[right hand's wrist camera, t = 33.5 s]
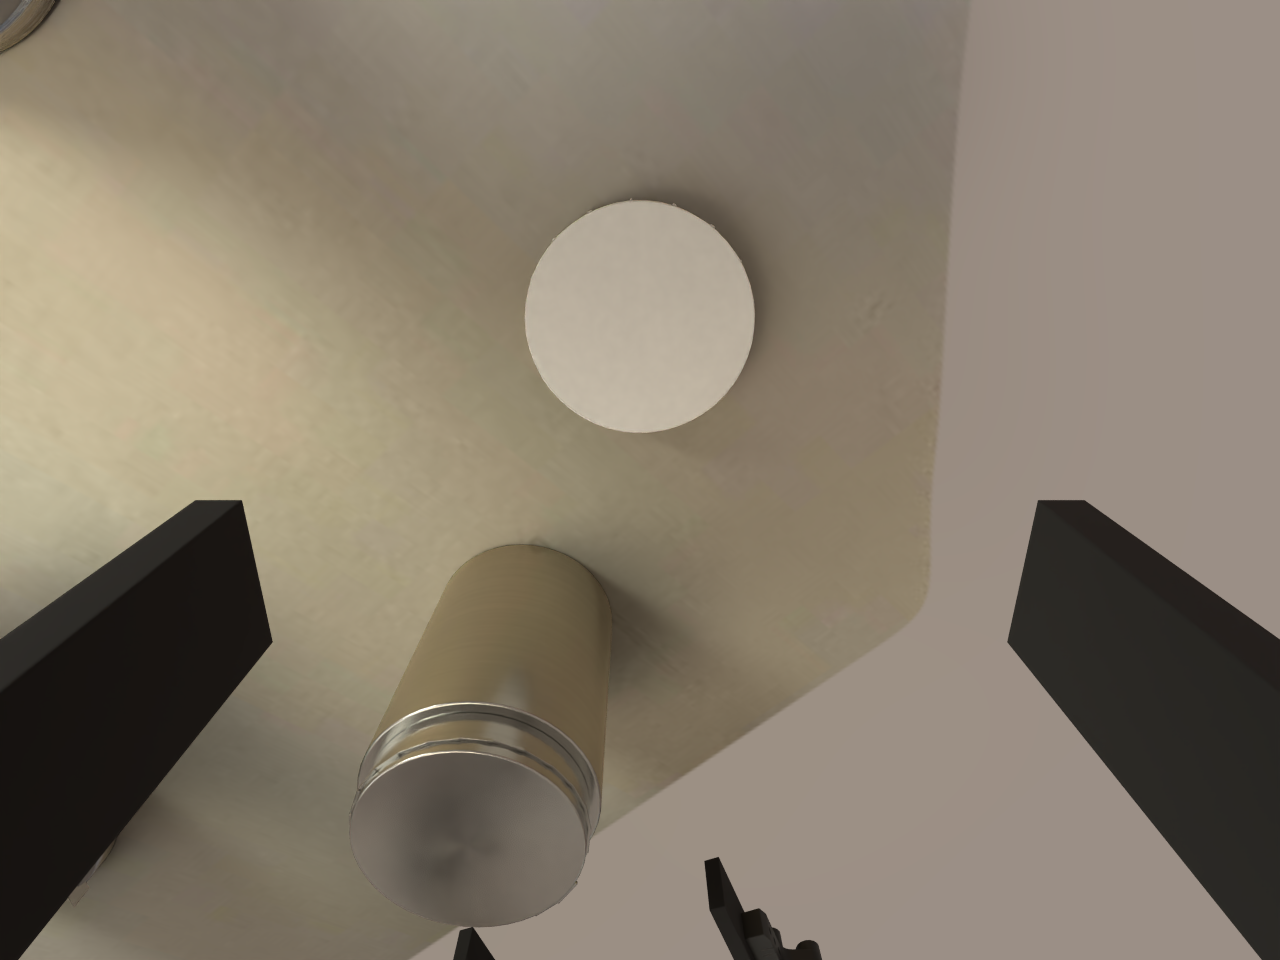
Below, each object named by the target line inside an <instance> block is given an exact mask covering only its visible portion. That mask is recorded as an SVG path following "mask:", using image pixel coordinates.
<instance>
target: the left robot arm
mask: <svg viewBox="0 0 1280 960" xmlns="http://www.w3.org/2000/svg"><path fill="white" fill-rule="evenodd" d="M115 839H116V838H115ZM115 839H114V841H113V842H112V843H111V844H110V846H109V847H108V848H107V849H106V851H105V852H104V853H103V854H102V856H101V857H100V858H99V859H98V861H97V862H96V863H95V864H94V866H93V867H92V868H91V869H90V871H89V872H88V873H87V874H86V876H85V877H84V878H83V879H82V881H81V882H80V883H79V884H78V886H77V887H76V888H75V889H74V891H73V892H72V893H71V894H70V896H69V897H68V898H69V899H70V901H71V903H72V905H73V907H75V905H76V904H77V903H78V902H79V900H80V899H81V898H82V896H83V895H84V894H85V893H86V891H87V890H88V889H89V886H88V885H87V883H86V882H87V881H88V880H89V879H90V877H91V876H92V875H93V874H94V872H95V871H96V870H97V869H98V867H99V866H100V865H101V863H102V862H103V861H104V860H105V858H106V857H107V856H108V854H109V853H110V851H111V849H112V847H113V845H114V842H115ZM705 871H706V880H707V890H708V899H709V909H710V912H711V914H712V916H713V918H714V920H715V922H716V924H717V926H718V928H719V930H720V932H721V934H722V936H723V938H724V940H725V942H726V944H727V946H728V948H729V950H730V952H731V954H732V957H733V959H734V960H822V958H821V954H820V950H819V946H818V944H817V943H816V942H815V941H811V940H805V941H802V942H800V943H799V944H798V945H797V947H796V949H795V950H792V949H786V948H784V947H783V945H782V940H781V935H780V932H779V931H778V930H777V929H776V928H772V927H771V925H770V922H769V920H768V918H767V915H766V914H765V913H764V912H763V911H762V910H760V909H755V910H751V911H748V912H744V910H743V908H742V906H741V904H740V902H739V900H738V897H737V895H736V893H735V891H734V889H733V887H732V885H731V882H730V880H729V878H728V876H727V874H726V872H725V870H724V868H723V865H722V863H721V861H720V859H719V857H717V858H713V859H710V860H706V861H705ZM453 960H495V959H494V958H493V956H492V955H491V953H490V952H489V950H488V949H487V947H486V946H485V944H484V943H483V941H482V940H481V938H480V937H479V935H478V934H477V932H476V931H475V930H474V928H473V927H471V928H467V929H464V930H460V932H459V937H458V941H457V946H456V950H455V954H454V959H453Z"/></svg>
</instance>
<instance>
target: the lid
mask: <svg viewBox="0 0 1280 960" xmlns="http://www.w3.org/2000/svg"><path fill="white" fill-rule="evenodd" d="M714 228H715V226H713V225H712V224H710V225H709V224H708V223H707V222H705V221H704V220H702V219H700V218H699V217H697V216H695V215H694V214H692V213H690V212H688V211H686V210H684V209H681V208H679V207H677V206H676V204H674V203H673V204H672V205H670V204H667V203H663V202H658V201H650V200H633V198H630V200H629V201H623V202H617V203H613V204H609V205H606V206H603V207H600V208H598V209H596V210H594V211H592V210H589V211H587V214H586V215H584V216H582V217H581V218H579V219H578V220H576V221H575V222H573V223H572V224H570V225H569V226H568V227H567V228H566V229H565V230H563V231H562V232H561V233H560V234H559V235H557V236H556V237H554V238H553V239H552V240H553V242H552V243H551V244H550V245H549V246H548V248H547V249H546V251H545V252H544V254H543V255H542V257H541V259H540V260H539V262H538V264H537V267H536V269H535V271H534V273H533V275H532V276H531V278H532V279H531V282H530V285H529V288H528V293H527V298H526V305H525V328H526V336H527V341H528V346H529V350H530V352H531V355H532V358H533V361H534V363H535V365H536V367H537V369H538V371H539V373H540V375H541V377H542V379H543V380H544V382H545V383H546V384H547V386H548V387H549V389H550V390H551V391H552V392H553V393H554V394H555V396H556V397H557V398H558V399H559V400H560V401H561V402H562V403H564V404H565V405H566V406H567V407H568V408H569V409H571V410H572V411H573V412H575V413H576V414H578V415H579V416H581V417H583V418H584V419H586V420H588V421H590V422H592V423H594V424H597V425H600V426H602V427H605V428H608V429H613V430H617V431H621V432H631V433H650V432H657V431H664V430H667V429H671V428H675V427H678V426H680V425H683V424H685V423H687V422H690V421H692V420H693V419H695V418H697V417H699V416H700V415H702V414H704V413H705V412H706V411H708V410H709V409H710V408H712V407H713V406H714V405H715V404H716V403H717V402H718V401H719V400H720V399H722V398H723V397H724V396H725V394H726V393H727V392H728V391H729V389H730V388H731V387H732V386H733V384H734V383H735V381H736V380H737V378H738V376H739V375H740V373H741V371H742V369H743V367H744V365H745V363H746V360H747V358H748V355H749V352H750V348H751V345H752V340H753V334H754V326H755V309H754V304H755V302H754V299H753V294H752V290H751V285H750V282H749V279H748V277H747V274H746V271H745V269H744V267H743V265H742V260H741V259H739V257H738V256H737V254H736V253H735V251H734V250H733V249H732V247H731V246H730V244H729V243H728V242H727V241H726V240H725V239H724V238H723V237H722V235H721V234H720V233H719V232H718V231H717V230H715V229H714Z"/></svg>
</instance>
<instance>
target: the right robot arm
mask: <svg viewBox="0 0 1280 960" xmlns="http://www.w3.org/2000/svg"><path fill="white" fill-rule="evenodd" d="M55 1H56V0H0V52H1V51H4V50H6V49H7V48H9V47H11V46H13V45H14V44H16V43H18V42H19V41H20V40H22V39H23V38H24V37H26V36H27V35H28V34H29V33H31V32H32V31H33V30H34V29H35V28H36V27H37V26H38V24H39V23H40V22H41V21H42V20H43V19H44V17H45V16H46V15H47V13H48V12H49V11H50V10H51V8H52V6H53V5H54V3H55ZM272 642H273V641H272V637H271V632H270V628H269V623H268V618H267V614H266V609H265V605H264V600H263V595H262V591H261V586H260V581H259V577H258V572H257V568H256V563H255V558H254V554H253V549H252V545H251V540H250V535H249V531H248V526H247V521H246V517H245V512H244V508H243V503H242V500H195V501H194V502H192V503H191V504H190V505H188V506H187V507H185V508H184V509H183V510H181V511H180V512H178V513H177V514H176V515H174V516H173V517H171V518H170V519H169V520H167V521H166V522H164V523H163V524H162V525H160V526H159V527H157V528H156V529H155V530H153V531H152V532H150V533H149V534H148V535H146V536H145V537H143V538H142V539H140V540H139V541H138V542H136V543H135V544H133V545H132V546H131V547H129V548H128V549H126V550H125V551H124V552H122V553H121V554H119V555H118V556H117V557H115V558H114V559H112V560H111V561H110V562H108V563H107V564H105V565H104V566H103V567H101V568H100V569H98V570H97V571H96V572H94V573H93V574H91V575H90V576H89V577H87V578H86V579H84V580H83V581H82V582H80V583H79V584H77V585H76V586H75V587H73V588H72V589H70V590H69V591H68V592H66V593H65V594H63V595H62V596H61V597H59V598H58V599H56V600H55V601H54V602H52V603H51V604H49V605H48V606H46V607H45V608H44V609H42V610H41V611H39V612H38V613H37V614H35V615H34V616H32V617H31V618H30V619H28V620H27V621H25V622H24V623H23V624H21V625H20V626H18V627H17V628H16V629H14V630H13V631H11V632H10V633H9V634H7V635H6V636H4V637H3V638H2V639H0V960H18V959H19V958H20V957H21V956H22V954H23V953H24V952H25V951H26V949H27V948H28V947H29V946H30V944H31V943H32V942H33V941H34V939H35V938H36V937H37V936H38V934H39V933H40V932H41V931H42V929H43V928H44V927H45V926H46V924H47V923H48V922H49V921H50V919H51V918H52V917H53V916H54V914H55V913H56V912H57V911H58V909H59V908H60V907H61V906H62V904H63V903H64V902H65V901H66V899H67V898H68V897H69V896H70V894H71V893H72V892H73V891H74V889H75V888H76V887H77V886H78V884H79V883H80V882H81V881H82V879H83V878H84V877H85V876H86V874H87V873H88V872H89V871H90V869H91V868H92V867H93V866H94V864H95V863H96V862H97V861H98V859H99V858H100V857H101V856H102V854H103V853H104V852H105V851H106V849H107V848H108V847H109V846H110V844H111V843H112V842H113V841H114V839H115V838H116V837H117V836H118V834H119V833H120V832H121V831H122V829H123V828H124V827H125V826H126V824H127V823H128V822H129V821H130V820H131V818H132V817H133V816H134V815H135V813H136V812H137V811H138V810H139V808H140V807H141V806H142V805H143V803H144V802H145V801H146V800H147V798H148V797H149V796H150V795H151V793H152V792H153V791H154V790H155V788H156V787H157V786H158V785H159V783H160V782H161V781H162V780H163V778H164V777H165V776H166V775H167V773H168V772H169V771H170V770H171V768H172V767H173V766H174V765H175V763H176V762H177V761H178V760H179V758H180V757H181V756H182V755H183V753H184V752H185V751H186V750H187V748H188V747H189V746H190V745H191V743H192V742H193V741H194V740H195V738H196V737H197V736H198V735H199V733H200V732H201V731H202V730H203V728H204V727H205V726H206V725H207V723H208V722H209V721H210V720H211V718H212V717H213V716H214V715H215V713H216V712H217V711H218V710H219V708H220V707H221V706H222V705H223V703H224V702H225V701H226V700H227V698H228V697H229V696H230V695H231V693H232V692H233V691H234V690H235V688H236V687H237V686H238V685H239V683H240V682H241V681H242V680H243V678H244V677H245V676H246V675H247V673H248V672H249V671H250V670H251V668H252V667H253V666H254V665H255V663H256V662H257V661H258V660H259V658H260V657H261V656H262V655H263V653H264V652H265V651H266V650H267V648H268V647H269V646H270V645H271V643H272ZM1008 643H1009V645H1010V646H1011V647H1012V648H1013V650H1014V651H1015V652H1016V653H1017V655H1018V656H1019V657H1020V658H1021V660H1022V661H1023V662H1024V663H1025V665H1026V666H1027V667H1028V668H1029V670H1030V671H1031V672H1032V673H1033V675H1034V676H1035V677H1036V678H1037V680H1038V681H1039V682H1040V683H1041V685H1042V686H1043V687H1044V688H1045V690H1046V691H1047V692H1048V693H1049V695H1050V696H1051V697H1052V698H1053V700H1054V701H1055V702H1056V703H1057V705H1058V706H1059V707H1060V708H1061V710H1062V711H1063V712H1064V713H1065V715H1066V716H1067V717H1068V718H1069V720H1070V721H1071V722H1072V723H1073V725H1074V726H1075V727H1076V728H1077V730H1078V731H1079V732H1080V733H1081V735H1082V736H1083V737H1084V738H1085V740H1086V741H1087V742H1088V743H1089V745H1090V746H1091V747H1092V748H1093V750H1094V751H1095V752H1096V753H1097V755H1098V756H1099V757H1100V758H1101V760H1102V761H1103V762H1104V763H1105V765H1106V766H1107V767H1108V768H1109V770H1110V771H1111V772H1112V773H1113V775H1114V776H1115V777H1116V778H1117V780H1118V781H1119V782H1120V783H1121V785H1122V786H1123V787H1124V788H1125V790H1126V791H1127V792H1128V793H1129V795H1130V796H1131V797H1132V798H1133V800H1134V801H1135V802H1136V803H1137V804H1138V806H1139V807H1140V808H1141V810H1142V811H1143V812H1144V813H1145V815H1146V816H1147V817H1148V818H1149V820H1150V821H1151V822H1152V823H1153V824H1154V826H1155V827H1156V828H1157V829H1158V831H1159V832H1160V833H1161V834H1162V836H1163V837H1164V838H1165V839H1166V841H1167V842H1168V843H1169V844H1170V846H1171V847H1172V848H1173V849H1174V851H1175V852H1176V853H1177V854H1178V856H1179V857H1180V858H1181V859H1182V861H1183V862H1184V863H1185V864H1186V866H1187V867H1188V868H1189V869H1190V871H1191V872H1192V873H1193V874H1194V876H1195V877H1196V878H1197V879H1198V881H1199V882H1200V883H1201V884H1202V886H1203V887H1204V888H1205V889H1206V891H1207V892H1208V893H1209V894H1210V896H1211V897H1212V898H1213V899H1214V901H1215V902H1216V903H1217V904H1218V906H1219V907H1220V908H1221V909H1222V911H1223V912H1224V913H1225V914H1226V916H1227V917H1228V918H1229V919H1230V921H1231V922H1232V923H1233V924H1234V926H1235V927H1236V928H1237V929H1238V931H1239V932H1240V933H1241V934H1242V936H1243V937H1244V938H1245V939H1246V941H1247V942H1248V943H1249V944H1250V946H1251V947H1252V948H1253V949H1254V951H1255V952H1256V953H1257V954H1258V955H1259V957H1260V958H1261V959H1262V960H1280V639H1278V638H1277V637H1276V636H1274V635H1273V634H1271V633H1270V632H1269V631H1267V630H1266V629H1264V628H1263V627H1262V626H1260V625H1259V624H1257V623H1256V622H1254V621H1253V620H1252V619H1250V618H1249V617H1248V616H1246V615H1245V614H1243V613H1242V612H1240V611H1239V610H1238V609H1236V608H1235V607H1233V606H1232V605H1231V604H1229V603H1228V602H1226V601H1225V600H1224V599H1222V598H1221V597H1219V596H1218V595H1217V594H1215V593H1214V592H1212V591H1211V590H1210V589H1208V588H1207V587H1205V586H1204V585H1203V584H1201V583H1200V582H1198V581H1197V580H1196V579H1194V578H1193V577H1191V576H1190V575H1189V574H1187V573H1186V572H1184V571H1183V570H1182V569H1180V568H1179V567H1177V566H1176V565H1175V564H1173V563H1172V562H1170V561H1169V560H1168V559H1166V558H1165V557H1163V556H1162V555H1161V554H1159V553H1158V552H1156V551H1155V550H1153V549H1152V548H1151V547H1149V546H1148V545H1147V544H1145V543H1144V542H1142V541H1141V540H1140V539H1138V538H1137V537H1135V536H1134V535H1132V534H1131V533H1130V532H1128V531H1127V530H1125V529H1124V528H1123V527H1121V526H1120V525H1118V524H1117V523H1116V522H1114V521H1113V520H1111V519H1110V518H1109V517H1107V516H1106V515H1104V514H1103V513H1102V512H1100V511H1099V510H1097V509H1096V508H1095V507H1093V506H1092V505H1090V504H1089V503H1088V502H1086V501H1085V500H1038V503H1037V508H1036V512H1035V517H1034V521H1033V526H1032V531H1031V535H1030V540H1029V545H1028V549H1027V554H1026V558H1025V563H1024V568H1023V572H1022V577H1021V581H1020V586H1019V591H1018V596H1017V600H1016V605H1015V609H1014V614H1013V618H1012V623H1011V628H1010V632H1009V637H1008Z"/></svg>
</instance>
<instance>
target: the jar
mask: <svg viewBox="0 0 1280 960" xmlns="http://www.w3.org/2000/svg"><path fill="white" fill-rule="evenodd" d="M611 639H612V612H611V608H610V604H609V601H608V599H607V596H606V594H605V592H604V590H603V588H602V587H601V585H600V583H599V582H598V581H597V580H596V578H595V577H594V576H593V575H592V574H591V573H590V572H589V571H588V570H587V569H586V568H585V567H584V566H582V565H581V564H580V563H578V562H577V561H575V560H574V559H572V558H570V557H568V556H567V555H565V554H562V553H560V552H558V551H555V550H552V549H548V548H545V547H540V546H534V545H508V546H503V547H497V548H494V549H491V550H488V551H485V552H483V553H481V554H479V555H477V556H475V557H473V558H472V559H470V560H469V561H467V562H466V563H465V564H464V565H462V566H461V567H460V568H459V569H458V570H457V571H456V572H455V574H454V575H453V576H452V577H451V579H450V580H449V582H448V584H447V585H446V587H445V589H444V592H443V594H442V596H441V598H440V600H439V602H438V604H437V606H436V608H435V610H434V612H433V614H432V616H431V619H430V621H429V623H428V625H427V627H426V629H425V631H424V633H423V635H422V637H421V639H420V641H419V643H418V646H417V648H416V650H415V652H414V654H413V656H412V658H411V660H410V662H409V664H408V666H407V668H406V670H405V672H404V675H403V677H402V679H401V681H400V683H399V685H398V687H397V689H396V691H395V693H394V695H393V697H392V699H391V702H390V704H389V706H388V708H387V710H386V712H385V714H384V716H383V718H382V720H381V722H380V724H379V726H378V729H377V731H376V733H375V735H374V737H373V739H372V741H371V743H370V745H369V747H368V749H367V751H366V754H365V756H364V758H363V761H362V763H361V766H360V770H359V774H358V785H357V793H356V796H355V799H354V802H353V805H352V808H351V811H350V813H349V818H350V832H349V833H350V842H351V847H352V851H353V854H354V857H355V859H356V861H357V863H358V865H359V867H360V869H361V871H362V872H363V874H364V875H365V876H366V878H367V879H368V880H369V881H370V883H371V884H372V885H373V886H374V887H375V888H376V889H377V890H378V891H379V892H380V893H382V894H383V895H384V896H385V897H386V898H388V899H389V900H391V901H392V902H393V903H395V904H396V905H398V906H400V907H402V908H403V909H405V910H407V911H409V912H411V913H414V914H416V915H418V916H420V917H423V918H426V919H429V920H432V921H435V922H440V923H444V924H449V925H455V926H463V927H492V926H500V925H506V924H511V923H515V922H518V921H522V920H525V919H527V918H530V917H533V916H537V915H539V914H540V913H542V912H544V911H545V910H547V909H549V908H550V907H552V906H554V905H555V904H557V903H560V902H561V901H562V900H563V899H564V898H565V897H566V896H567V894H568V893H569V892H570V891H571V890H572V889H573V888H574V887H575V886H576V885H577V881H576V880H577V878H578V877H579V875H580V873H581V870H582V868H583V865H584V861H585V857H586V855H587V853H588V851H589V842H590V839H591V837H592V836H593V834H594V832H595V829H596V827H597V824H598V821H599V817H600V812H601V799H602V783H603V767H604V751H605V735H606V719H607V703H608V687H609V671H610V655H611Z"/></svg>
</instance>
